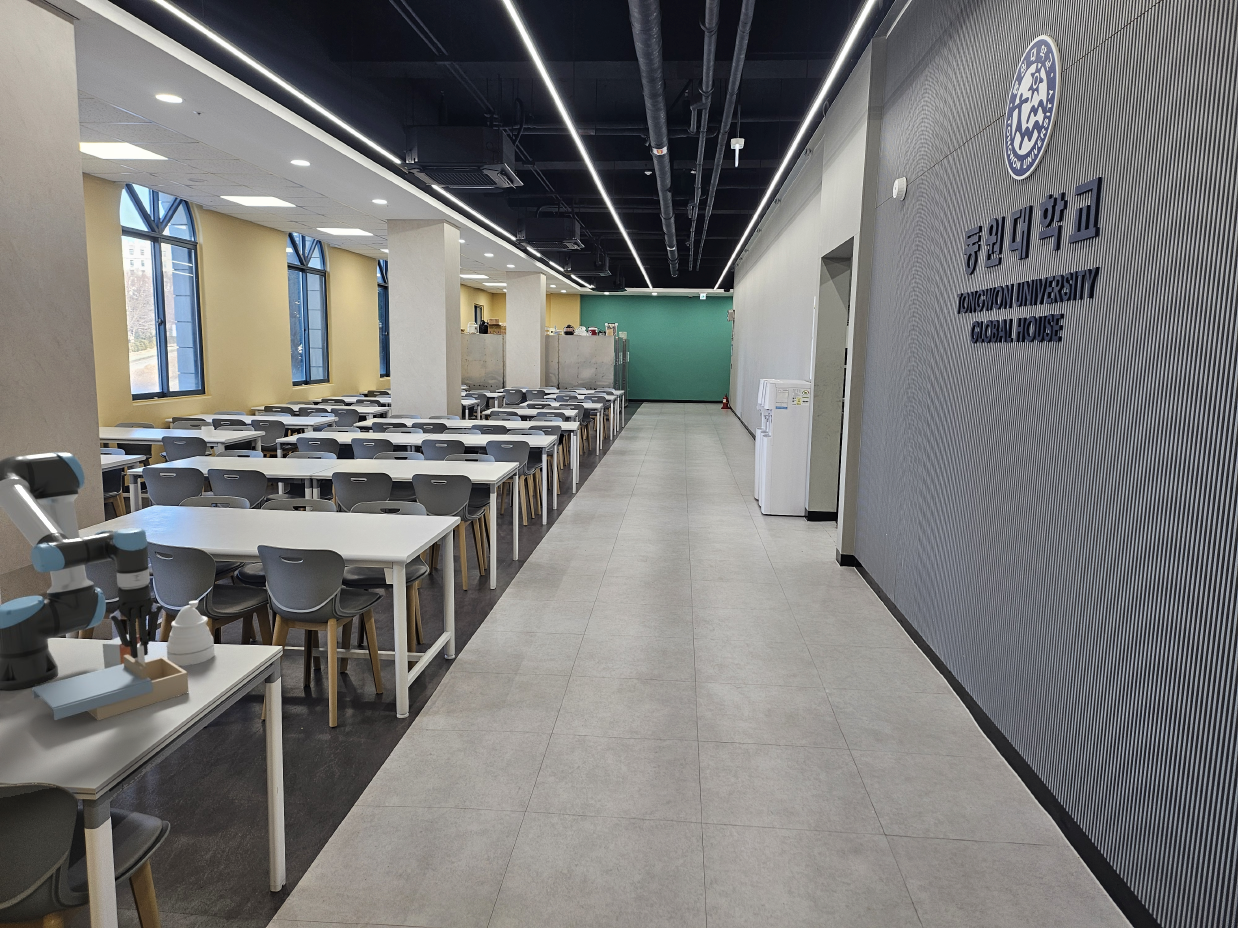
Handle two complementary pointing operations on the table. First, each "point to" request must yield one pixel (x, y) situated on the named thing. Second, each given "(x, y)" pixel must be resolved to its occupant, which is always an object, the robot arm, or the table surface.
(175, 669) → the tray
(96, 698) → the lid
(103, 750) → the table surface
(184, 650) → the honey pot
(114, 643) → the small box
